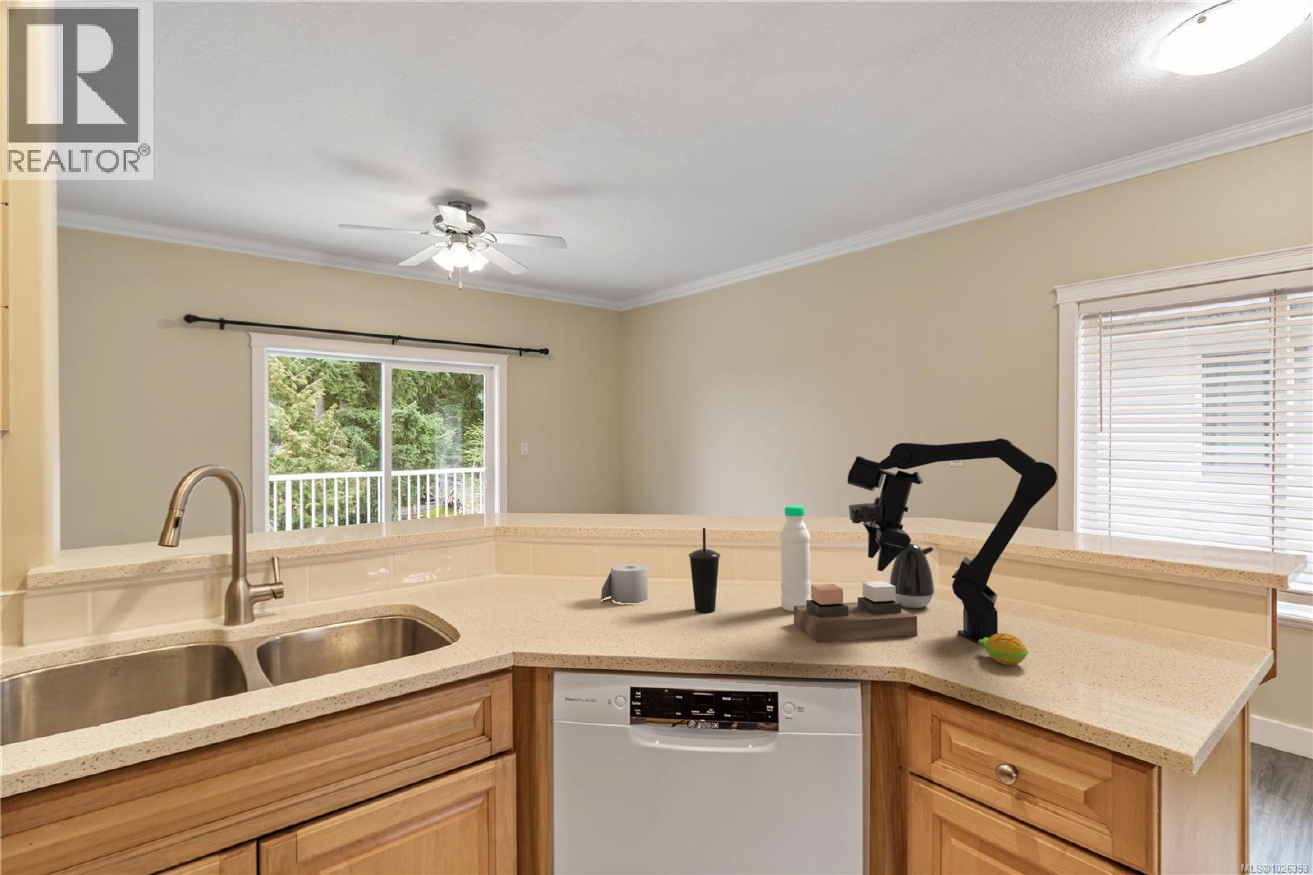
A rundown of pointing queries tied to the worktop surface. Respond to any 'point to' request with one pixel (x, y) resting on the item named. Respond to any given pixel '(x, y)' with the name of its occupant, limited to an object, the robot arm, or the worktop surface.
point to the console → (854, 620)
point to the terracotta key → (827, 594)
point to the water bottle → (795, 559)
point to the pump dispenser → (912, 577)
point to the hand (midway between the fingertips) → (874, 564)
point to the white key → (879, 591)
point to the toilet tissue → (627, 583)
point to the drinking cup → (704, 577)
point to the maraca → (1005, 648)
